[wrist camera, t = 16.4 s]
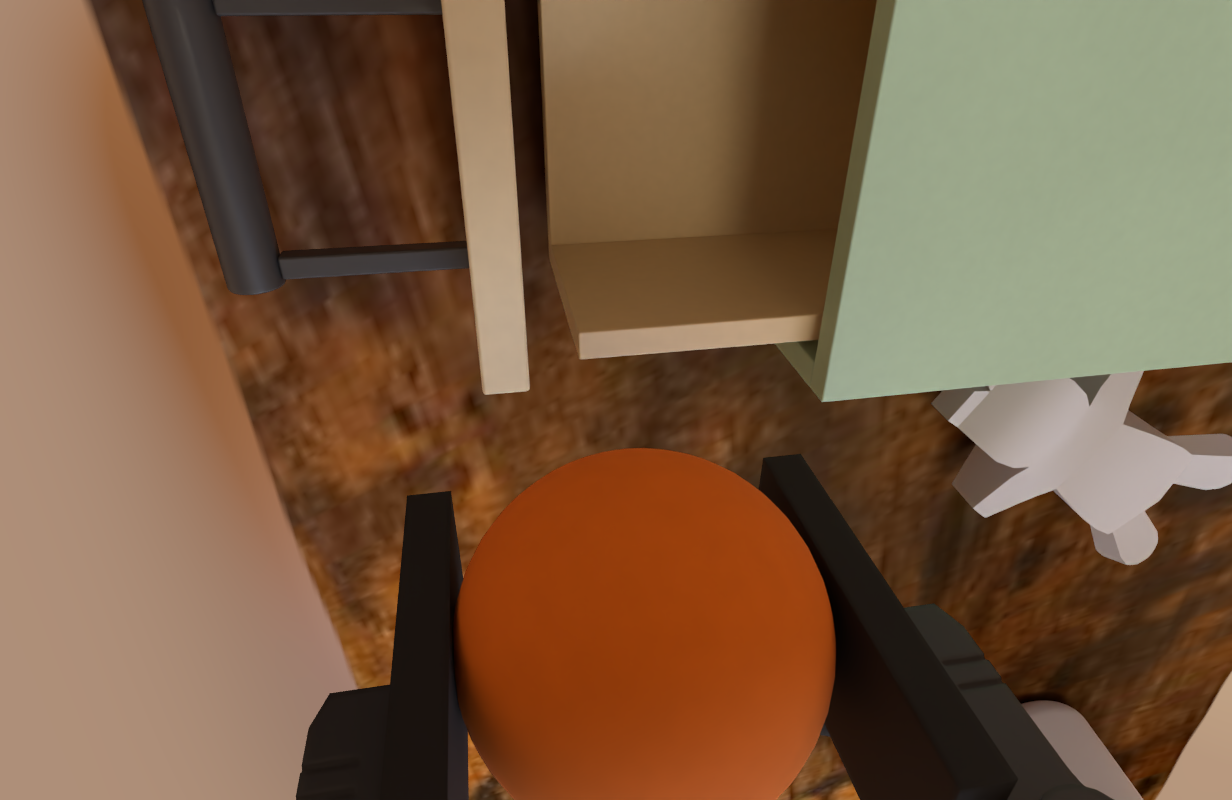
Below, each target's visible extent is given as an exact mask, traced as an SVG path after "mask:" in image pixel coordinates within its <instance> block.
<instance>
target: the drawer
mask: <svg viewBox="0 0 1232 800" xmlns="http://www.w3.org/2000/svg"><path fill="white" fill-rule="evenodd" d="M142 1H143V5H144V8H145V11H146V15H147V18H148V22H149V25H150V28H151V32H152V35H153V38H154V42H155V45H156V48H157V52H158V55H159V59H160V62H161V65H162V69H163V72H164V75H165V79H166V82H167V86H168V89H169V92H170V96H171V99H172V102H173V106H174V109H175V112H176V116H177V119H178V123H179V126H180V129H181V133H182V136H183V139H184V143H185V146H186V150H187V153H188V156H189V160H190V163H191V166H192V170H193V173H194V177H195V180H196V183H197V187H198V190H199V193H200V197H201V200H202V203H203V207H204V210H205V214H206V217H207V220H208V224H209V227H210V230H211V234H212V237H213V241H214V244H215V247H216V251H217V254H218V257H219V261H220V264H221V267H222V271H223V274H224V278H225V281H226V284H227V288H228V289H229V290H230V291H231V292H232V293H235V294H240V295H254V294H261V293H266V292H270V291H273V290H275V289H278V288H279V287H281V286H283V285H284V283H285V281H286V279H299V278H316V277H332V276H348V275H365V274H381V273H398V272H414V271H430V270H447V269H463V268H469V269H470V278H471V287H472V297H473V306H474V316H475V325H476V335H477V344H478V353H479V363H480V372H481V382H482V391H483V393H484V394H486V395H488V394H499V393H511V392H522V391H528V390H529V388H530V383H529V368H528V352H527V337H526V322H525V307H524V291H523V276H522V261H521V246H520V231H519V215H518V200H517V185H516V170H515V154H514V139H513V124H512V109H511V94H510V78H509V63H508V48H507V33H506V17H505V2H504V0H142ZM876 3H877V0H538V23H539V45H540V68H541V90H542V112H543V135H544V157H545V180H546V202H547V225H548V247H549V260H550V263H551V266H552V270H553V273H554V277H555V280H556V284H557V287H558V290H559V294H560V297H561V300H562V304H563V307H564V310H565V314H566V317H567V321H568V324H569V327H570V331H571V334H572V337H573V341H574V344H575V347H576V351H577V354H578V357H579V359H592V358H604V357H616V356H628V355H640V354H652V353H664V352H676V351H688V350H700V349H712V348H725V347H737V346H749V345H761V344H773V343H785V342H797V341H809V340H819V335H820V329H821V323H822V317H823V311H824V306H825V300H826V294H827V288H828V282H829V276H830V271H831V265H832V259H833V253H834V247H835V242H836V236H837V230H838V224H839V218H840V213H841V207H842V201H843V195H844V189H845V184H846V178H847V172H848V166H849V160H850V154H851V149H852V143H853V137H854V131H855V125H856V120H857V114H858V108H859V102H860V96H861V91H862V85H863V79H864V73H865V67H866V62H867V56H868V50H869V44H870V38H871V32H872V27H873V21H874V15H875V9H876ZM310 15H443V24H444V33H445V42H446V52H447V61H448V71H449V80H450V90H451V99H452V108H453V118H454V127H455V137H456V146H457V155H458V165H459V174H460V184H461V193H462V203H463V212H464V221H465V231H466V240H467V241H455V242H437V243H419V244H401V245H383V246H364V247H346V248H328V249H310V250H292V251H283V252H281V254H280V252H279V248H278V244H277V240H276V236H275V232H274V228H273V224H272V220H271V216H270V212H269V208H268V204H267V200H266V196H265V192H264V188H263V184H262V180H261V176H260V172H259V168H258V164H257V160H256V156H255V152H254V148H253V144H252V140H251V136H250V132H249V128H248V124H247V120H246V116H245V112H244V108H243V104H242V100H241V96H240V92H239V88H238V84H237V80H236V76H235V72H234V68H233V64H232V60H231V56H230V52H229V48H228V44H227V40H226V36H225V32H224V28H223V24H222V20H221V16H310Z"/></svg>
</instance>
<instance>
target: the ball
mask: <svg viewBox="0 0 1232 800" xmlns="http://www.w3.org/2000/svg"><path fill="white" fill-rule="evenodd" d="M453 651H454V669H455V680H456V689H457V697H458V703H459V707H460V710H461V714H462V717H463V720H464V723H465V725H466V727H467V730H468V732H469V735H470V737H471V740H472V742H473V743H474V745H475V747H476V749H477V751H478V753H479V755H480V756H481V758H482V759H483V761H484V763H485V764H486V766H487V767H488V769H489V771H490V772H491V774H492V775H493V776H494V777H495V778H496V780H497V781H498V782H499V783H500V784H501V785H502V787H503V788H504V789H505V790H506V791H507V792H508V793H509V794H510V796H511V797H512V798H513V799H514V800H776V799H777V798H778V797H779V796H780V795H781V794H782V793H783V792H784V791H785V790H786V789H787V788H788V786H789V785H790V784H791V783H792V782H793V780H794V779H795V778H796V776H797V775H798V774H799V772H800V770H801V769H802V767H803V766H804V764H805V762H806V761H807V759H808V758H809V756H810V754H811V752H812V751H813V749H814V747H815V745H816V742H817V740H818V737H819V735H820V732H821V730H822V727H823V725H824V722H825V719H826V717H827V714H828V710H829V705H830V701H831V696H832V691H833V685H834V680H835V667H836V637H835V628H834V620H833V614H832V610H831V605H830V601H829V598H828V594H827V591H826V587H825V584H824V581H823V578H822V576H821V574H820V572H819V570H818V567H817V565H816V563H815V561H814V559H813V557H812V554H811V552H810V550H809V548H808V546H807V545H806V543H805V542H804V540H803V539H802V537H801V536H800V535H799V533H798V532H797V530H796V529H795V527H794V526H793V525H792V523H791V522H790V520H789V519H788V518H787V517H786V516H785V515H784V514H783V512H782V511H781V510H780V509H779V508H778V507H777V506H776V505H775V504H774V503H773V502H772V501H771V500H770V499H769V498H768V497H766V496H765V495H764V494H763V493H762V492H761V491H760V490H758V489H757V488H755V487H754V486H753V485H751V484H750V483H748V482H747V481H745V480H744V479H742V478H741V477H740V476H738V475H737V474H735V473H734V472H731V471H729V470H727V469H725V468H723V467H721V466H719V465H717V464H714V463H712V462H710V461H708V460H705V459H702V458H699V457H696V456H693V455H690V454H686V453H680V452H675V451H670V450H662V449H650V448H630V449H619V450H612V451H606V452H601V453H598V454H594V455H590V456H586V457H583V458H581V459H578V460H575V461H573V462H570V463H568V464H566V465H564V466H562V467H560V468H558V469H556V470H554V471H552V472H550V473H549V474H547V475H546V476H544V477H542V478H541V479H539V480H538V481H536V482H535V483H534V484H532V485H531V486H530V487H528V488H527V489H526V490H525V491H523V492H522V493H521V494H520V495H519V496H517V497H516V498H515V499H514V500H513V501H512V502H511V503H510V504H509V505H508V506H507V507H506V508H505V509H504V510H503V511H502V512H501V514H500V515H499V516H498V518H497V519H496V520H495V521H494V523H493V524H492V525H491V527H490V528H489V530H488V531H487V532H486V534H485V535H484V537H483V538H482V539H481V541H480V543H479V545H478V547H477V549H476V551H475V553H474V555H473V557H472V559H471V561H470V563H469V565H468V567H467V569H466V572H465V575H464V578H463V581H462V584H461V587H460V591H459V594H458V598H457V602H456V605H455V612H454V622H453Z"/></svg>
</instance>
